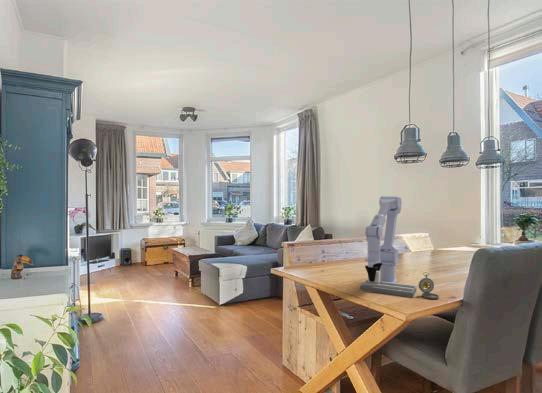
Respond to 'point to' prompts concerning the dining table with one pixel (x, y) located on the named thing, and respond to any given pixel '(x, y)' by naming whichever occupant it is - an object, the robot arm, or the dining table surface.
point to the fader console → (389, 288)
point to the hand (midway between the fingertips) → (373, 279)
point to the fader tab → (376, 278)
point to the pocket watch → (425, 283)
